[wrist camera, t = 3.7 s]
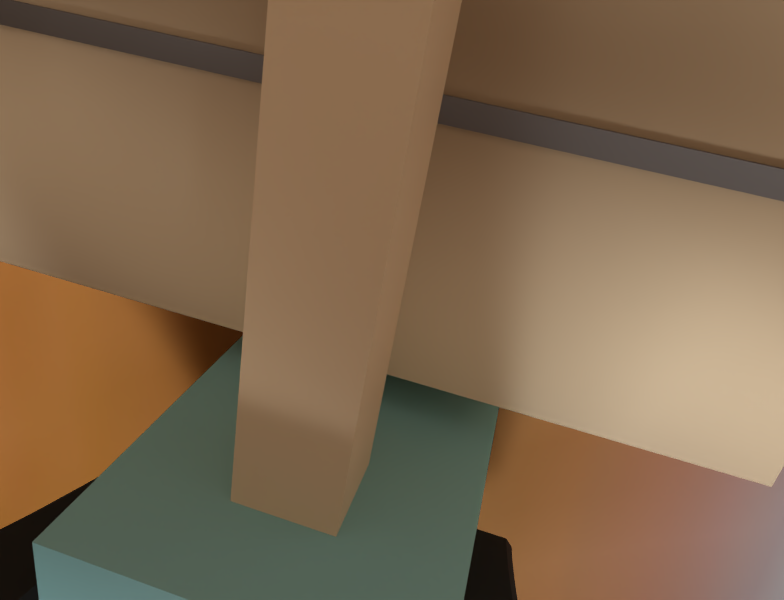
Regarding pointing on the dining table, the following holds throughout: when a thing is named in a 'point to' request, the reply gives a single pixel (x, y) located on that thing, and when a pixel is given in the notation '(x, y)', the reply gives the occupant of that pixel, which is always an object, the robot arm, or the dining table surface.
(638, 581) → the dining table surface
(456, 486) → the tan post teal base
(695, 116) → the board
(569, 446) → the dining table surface
